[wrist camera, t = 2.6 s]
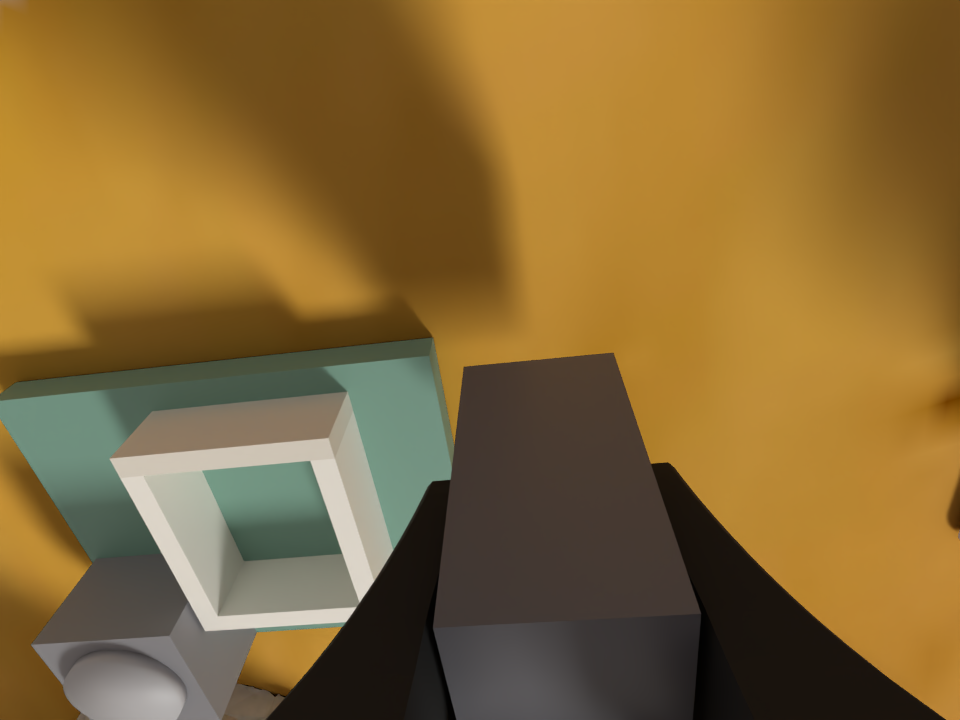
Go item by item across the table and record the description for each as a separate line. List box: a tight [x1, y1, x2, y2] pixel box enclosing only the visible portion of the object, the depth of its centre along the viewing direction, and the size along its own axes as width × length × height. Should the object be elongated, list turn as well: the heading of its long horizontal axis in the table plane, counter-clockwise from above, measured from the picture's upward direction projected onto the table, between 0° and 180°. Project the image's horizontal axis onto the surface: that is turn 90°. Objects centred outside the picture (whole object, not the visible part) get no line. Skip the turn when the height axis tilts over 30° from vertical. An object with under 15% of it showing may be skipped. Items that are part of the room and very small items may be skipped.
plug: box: [433, 353, 701, 720], centre depth 10 cm, size 3×4×7 cm
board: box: [0, 338, 454, 720], centre depth 17 cm, size 12×10×4 cm
